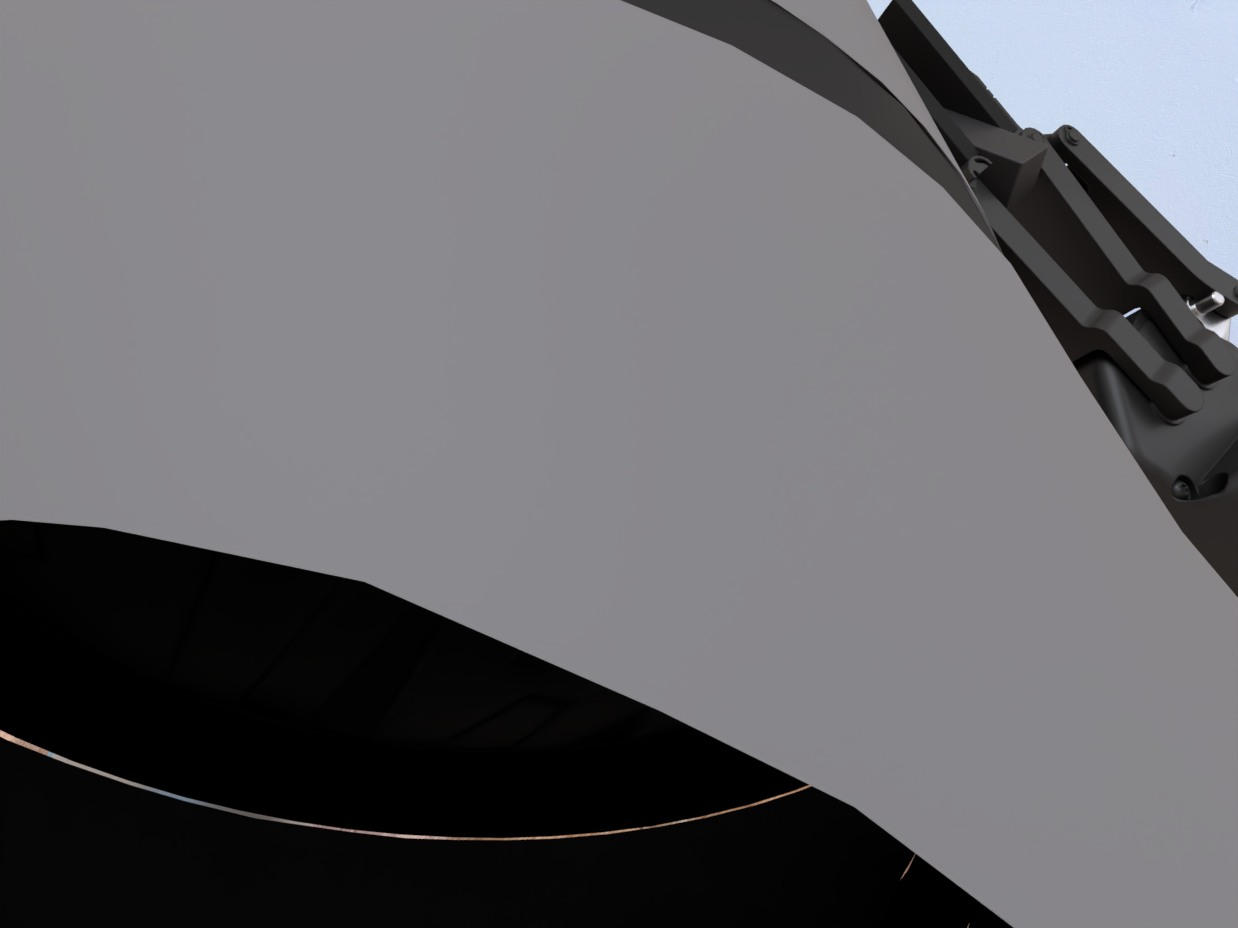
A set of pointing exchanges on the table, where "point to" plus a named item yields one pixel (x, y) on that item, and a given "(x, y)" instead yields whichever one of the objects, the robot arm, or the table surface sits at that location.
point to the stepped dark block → (1004, 158)
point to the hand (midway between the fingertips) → (858, 35)
